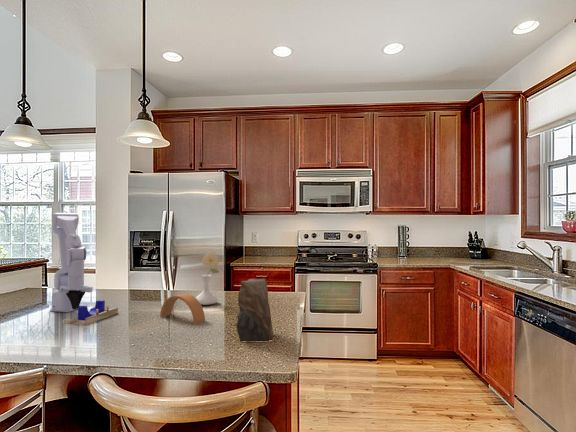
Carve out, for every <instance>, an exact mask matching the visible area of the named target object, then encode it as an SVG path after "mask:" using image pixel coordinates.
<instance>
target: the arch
mask: <svg viewBox="0 0 576 432" xmlns="http://www.w3.org/2000/svg"><path fill="white" fill-rule="evenodd" d="M177 300H181V301H182V302H184V303H185V304H186V305H187V307H188V309H189V310H190V313H191V315H192V319H193V320H192V321H193V322H192V323H193V325H197V324H201V323H203V322H205V321H206V315H205V311H204V308H203V306H202V305H201V304H200V302H199V301H198V300H197V299H196V296H194V295H192V294H191V293H190V294H189V293H181V294H177V295H176V294H175V295H173V296H169V297H168V298H167V299H165V301H164V302H163V304H162V306H161V309H160V312H159V317H160V318H164V317H167V316H168V317H169V316H172V314H173V313H172V312H173V308H174V305H175V304H176V302H177Z"/></svg>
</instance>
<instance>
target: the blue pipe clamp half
mask: <svg viewBox="0 0 576 432" xmlns="http://www.w3.org/2000/svg"><path fill="white" fill-rule="evenodd" d="M105 304H106V303H105V299H98V300H97V299H96V300H95V306H94V307H91V308H90V309H88V305H79V306H78V309H77V320H84V321H85V318H87V317H90V316H93V315H96V309H98V314H99V313H101V312H104V311H105V309H106V306H105Z"/></svg>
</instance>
